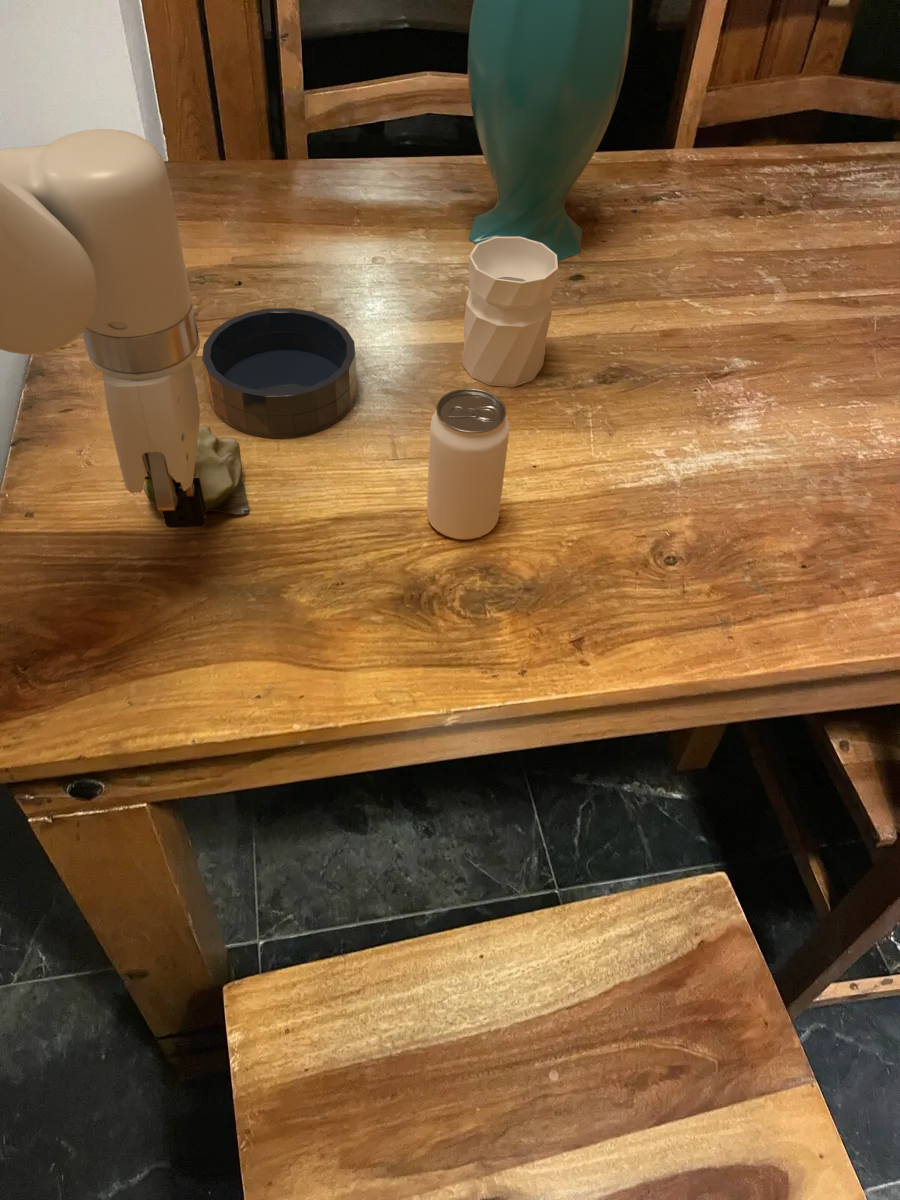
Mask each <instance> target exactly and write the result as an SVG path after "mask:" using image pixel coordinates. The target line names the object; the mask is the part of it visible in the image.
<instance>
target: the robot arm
mask: <svg viewBox="0 0 900 1200" xmlns="http://www.w3.org/2000/svg"><path fill="white" fill-rule="evenodd" d="M80 335H81V336H82V339H83V342H84V345H85V349H86V352H87V355H88V358H89V359H88V360H89V361H90V363H91V364H92V366H93V367H94V368H95V369H96V370H97V371H99V372H100V373H102V378H103V379H102V380H103V389H104V394H105V395H104V397H105V403H106V409H107V415H108V419H109V424H110V430H111V433H112V439H113V442H114V446H115V447H114V448H115V451H116V456H117V460H118V463H119V468H120V471H121V475H122V479H123V483H124V487H125V489H126V490H127V491H128V492H129V493H131V494H135V493H139V494H140V493H142V491H143V489H144V484H145V477H146V473H147V472H149V473H150V476H151V479H152V482H153V488H154V493H155V498H156V503H157V506H156V509H157V511H158V512H161V514H162V517H163V521H164V524H165V526H166V527H167V528H169V529H170V528H171V529H177V528H179V529H180V528H201V527H204V526H205V525H206V516H207V511H206V506H205V501H204V497H203V492H202V488H201V483H200V479H199V478H193V477H196V475H197V468H196V462H195V461H196V453H197V444H198V434H199V427H200V421H201V418H200V417H201V415H200V414H201V413H200V401H199V394H198V389H197V384H196V379H195V374H194V368H193V364H192V361H194V359H195V358H196V356H197V355H198V353H199V351H200V346H201V340H200V336H199V330H198V326H197V320H196V315H195V309H194V305H193V299H192V294H191V289H190V285H189V279H188V274H187V268H186V262H185V257H184V252H183V246H182V241H181V236H180V231H179V225H178V220H177V214H176V209H175V204H174V198H173V193H172V187H171V183H170V178H169V174H168V170H167V166H166V162H165V161H164V158H163V156H162V154H161V153H160V152H159V150H158V149H157V147H155V146H154V145H153V144H152V143H151V142H150V141H149V140H147V139H146V138H144V137H142V136H140V135H138V134H136V133H133V132H131V131H127V130H121V129H112V128H111V129H110V128H97V129H96V128H95V129H86V130H82V131H76V132H72V133H69V134H66V135H64V136H61V137H59V138H57V139H55V140H53V141H52V142H51V143H49V144H44V145H35V146H22V147H10V148H0V351H4V352H7V353H12V354H21V355H41V354H45V353H51V352H55V351H57V350H59V349H62V348H64V347H66V346H68V345H69V344H71V343H72V342H74V341H75V340H77V339H78V337H80Z"/></svg>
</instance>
